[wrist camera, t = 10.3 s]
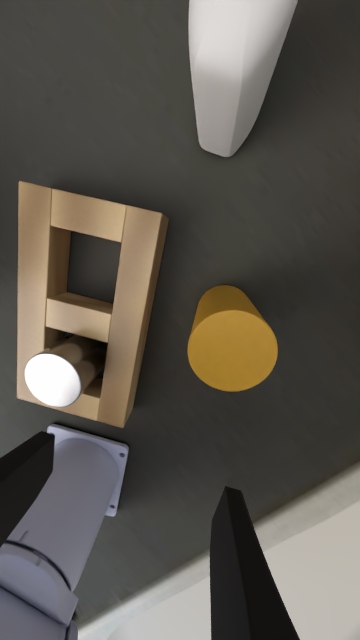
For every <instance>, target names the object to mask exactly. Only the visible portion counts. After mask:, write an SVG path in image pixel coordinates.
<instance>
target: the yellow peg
mask: <svg viewBox="0 0 360 640" xmlns="http://www.w3.org/2000/svg"><path fill="white" fill-rule="evenodd" d="M277 354H278V346H277V341H276V337H275V335H274V333H273V331H272V330H271V328H270V327H269V325H268V324H267V323H266V321H265V320H264V319H263V317H262V316H261V315H260V313H259V312H258V311H257V309H256V308H255V306H254V305H253V304H252V302H251V301H250V300H249V298H248V297H247V296H246V295H245V293H244V292H242V291H241V290H240V289H238V288H236V287H233V286H229V285H220V286H216V287H213V288H211V289H210V290H208V291H207V292H206V293H205V294H204V295H203V296H202V297H201V299H200V301H199V303H198V307H197V311H196V315H195V318H194V322H193V326H192V330H191V334H190V338H189V342H188V358H189V362H190V365H191V367H192V369H193V371H194V372H195V373H196V375H197V376H198V377H199V378H200V379H201V380H202V381H203V382H205V383H206V384H208V385H209V386H212V387H214V388H216V389H219V390H224V391H241V390H246V389H249V388H251V387H254V386H256V385H257V384H259V383H260V382H262V381H263V380H264V379H265V378H266V377H267V376H268V375H269V374H270V372H271V371H272V369H273V367H274V365H275V363H276V360H277Z"/></svg>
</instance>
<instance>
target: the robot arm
mask: <svg viewBox="0 0 360 640" xmlns="http://www.w3.org/2000/svg"><path fill="white" fill-rule="evenodd" d="M128 452H129V447H128V446H127V445H126V444H123V443H120V442H116V441H113V440H109V439H106V438H102V437H99V436H95V435H92V434H88V433H85V432H81V431H78V430H74V429H71V428H67V427H64V426H60V425H57V424H51V425H50V426H49V427H48V430H47V433H46V432H43V431H41V432H39V433H37V434H36V435H34V436H33V437H31V438H30V439H28V440H27V441H25V442H24V443H22V444H21V445H19V446H18V447H16V448H15V449H13V450H12V451H10V452H9V453H7V454H6V455H4V456H3V457H1V458H0V640H77V639H78V630H77V625H76V623H75V622H74V621H72V620H71V618H72V615H73V612H74V610H75V607H76V605H77V602H78V599H79V598H78V597H77V596H76V595H75V594H73V593H72V592H73V590H74V589H75V587H76V585H77V583H78V581H79V579H80V576H81V574H82V571H83V569H84V566H85V564H86V561H87V559H88V556H89V554H90V551H91V549H92V546H93V544H94V541H95V539H96V536H97V534H98V531H99V529H100V526H101V524H102V521H103V519H104V516H105V515H108V516H115V514H116V512H117V507H118V502H119V497H120V492H121V487H122V482H123V477H124V472H125V467H126V462H127V457H128ZM122 453H123V454H122ZM210 592H211V640H300V639H299V637H298V635H297V632H296V630H295V628H294V626H293V624H292V622H291V619H290V617H289V615H288V612H287V610H286V608H285V606H284V603H283V601H282V599H281V596H280V594H279V592H278V589H277V587H276V584H275V582H274V579H273V577H272V575H271V572H270V570H269V567H268V565H267V562H266V559H265V557H264V554H263V552H262V549H261V546H260V544H259V541H258V538H257V535H256V533H255V530H254V527H253V524H252V521H251V518H250V515H249V512H248V509H247V506H246V503H245V500H244V497H243V494H242V492H241V491H240V490H237V489H233V488H230V487H227V486H225V489H224V491H223V494H222V496H221V499H220V501H219V504H218V506H217V509H216V512H215V514H214V517H213V519H212V528H211V543H210Z"/></svg>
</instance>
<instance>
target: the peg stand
mask: <svg viewBox="0 0 360 640" xmlns="http://www.w3.org/2000/svg"><path fill="white" fill-rule="evenodd" d="M168 222H169V218H168V217H166V216H165V215H164V214H162V213H160V212H155V211H151V210H146V209H142V208H138V207H133V206H129V205H124V204H120V203H115V202H111V201H106V200H102V199H98V198H93V197H89V196H84V195H80V194H76V193H71V192H67V191H62V190H58V189H53V188H49V187H45V186H40V185H36V184H31V183H27V182H23V181H19V208H18V318H17V398H18V399H22V400H25V401H29V402H32V403H36V404H40V405H43V406H46V407H50V408H53V409H57V410H60V411H64V412H67V413H71V414H74V415H78V416H81V417H85V418H88V419H92V420H95V421H99V422H103V423H106V424H110V425H113V426H117V427H120V428H123V427H124V425H125V423H126V421H127V419H128V417H129V415H130V413H131V411H132V409H133V405H134V400H135V395H136V390H137V384H138V379H139V374H140V369H141V363H142V358H143V353H144V348H145V342H146V337H147V332H148V327H149V322H150V316H151V311H152V306H153V301H154V295H155V290H156V285H157V280H158V274H159V269H160V264H161V259H162V253H163V248H164V243H165V238H166V233H167V227H168ZM71 231H75V232H79V233H83V234H87V235H91V236H96V237H100V238H104V239H108V240H113V241H117V242H122V246H121V253H120V260H119V268H118V275H117V282H116V289H115V297H114V304H113V303H109V302H105V301H101V300H97V299H93V298H89V297H85V296H81V295H77V294H73V293H69V292H67V281H68V267H69V254H70V240H71ZM64 331H65V332H69V333H73V334H77V335H80V336H84V337H88V338H92V339H96V340H99V341H103V342H108V347H107V355H106V362H105V369H104V376H103V379H100V378H96V379H95V380H94V382H93V383H92V384H91V385H90V386H89V387H88V388H87V389H86V390H85V392H84V393H83V394H82V395H81V396H80V397H79V398H78V399H77V400H76V401H75V402H74V403H73V404H71V405H69V406H65V407H54V406H50V405H47V404H45V403H43V402H41V401H40V400H38V399H37V398H36V397H35V396H34V395H33V394H32V393H31V391H30V390H29V388H28V386H27V384H26V381H25V376H24V372H25V367H26V364H27V363H28V361H29V360H30V359H31V358H32V357H33V356H35V355H36V354H38V353H40V352H41V351H43V350H45V349H46V348H48V347H50V346H51V345H53V344H55V343H56V342H58V341H60V340H61V339H63V335H64Z"/></svg>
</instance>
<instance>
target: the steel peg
mask: <svg viewBox="0 0 360 640" xmlns="http://www.w3.org/2000/svg"><path fill="white" fill-rule="evenodd" d="M107 347H108V342H103V341H99V340H96V339H92V338H88V337H84V336H80V335H77V334H73V333H72V334H70V335H68V336H67V337H65V338H63V339H61V340H60V341H58V342H56V343H55V344H53V345H51V346H50V347H48V348H46V349H45V350H43V351H41V352H40V353H38V354H36V355H35V356H33V357H32V358H31V359H30V360H29V361H28V363H27V364H26V367H25V372H24V376H25V381H26V384H27V386H28V388H29V390H30V391H31V393H32V394H33V395H34V396H35V397H36V398H37V399H38V400H40V401H41V402H43V403H45V404H47V405H50V406H54V407H65V406H69V405H71V404H73V403H74V402H75V401H76V400H77V399H78V398H79V397H80V396H81V395H82V394H83V393H84V392H85V390H86V389H87V388H88V387H89V386H90V385H91V384H92V383H93V382H94V380H95V379H96V378H97V377H98V376H99V375H100V374H101V373H102V372H103V370H104V369H105V362H106V355H107Z"/></svg>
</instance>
